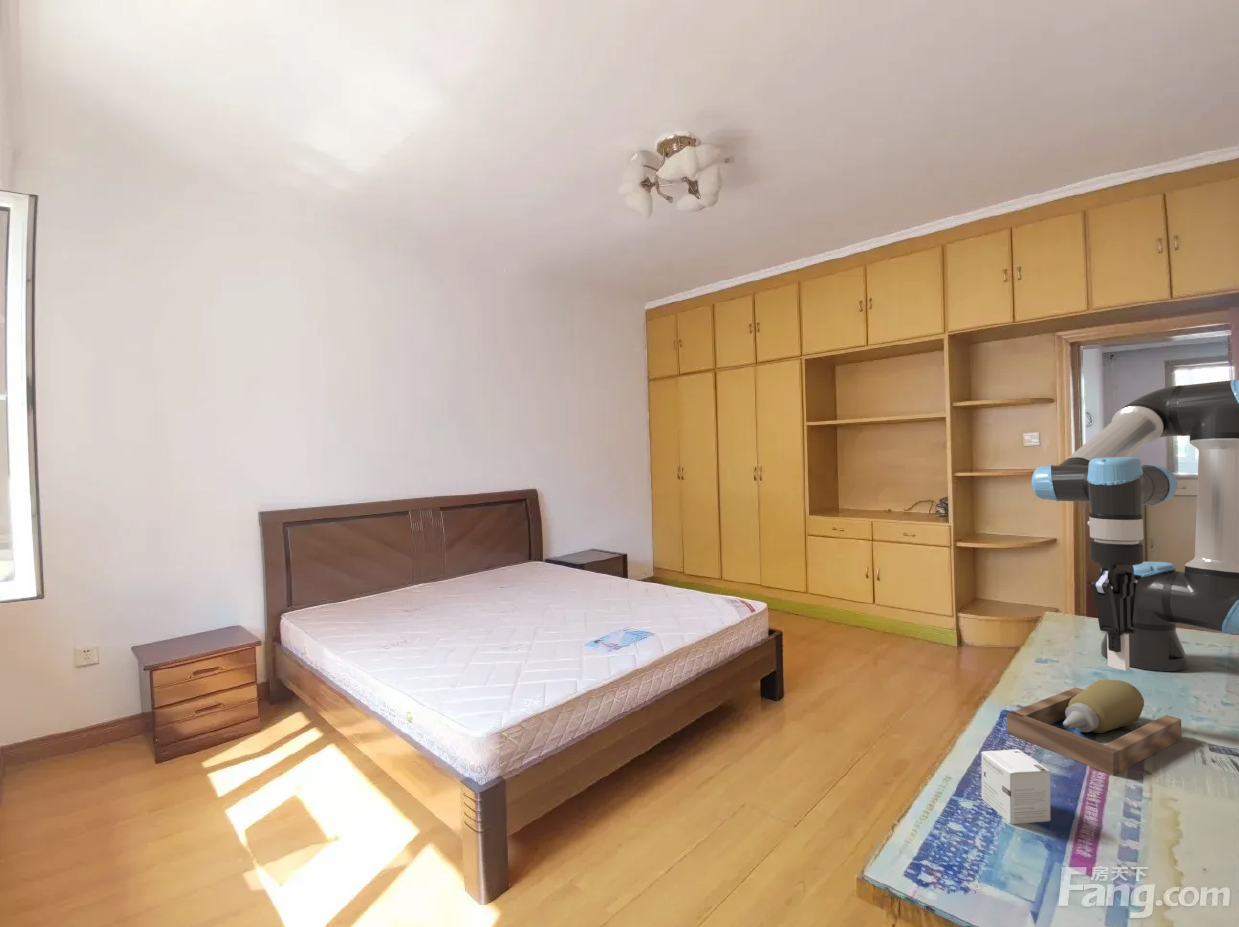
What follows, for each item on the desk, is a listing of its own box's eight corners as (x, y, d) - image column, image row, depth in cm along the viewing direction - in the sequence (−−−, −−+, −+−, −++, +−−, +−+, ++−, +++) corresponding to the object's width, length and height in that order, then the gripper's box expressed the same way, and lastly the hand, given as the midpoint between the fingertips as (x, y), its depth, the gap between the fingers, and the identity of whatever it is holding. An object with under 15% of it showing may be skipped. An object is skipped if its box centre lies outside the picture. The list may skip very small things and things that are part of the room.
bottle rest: (1075, 704, 115) (1075, 687, 115) (1181, 738, 101) (1181, 718, 101) (1007, 732, 105) (1006, 713, 105) (1113, 775, 90) (1113, 753, 90)
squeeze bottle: (1162, 701, 103) (1102, 732, 96) (1135, 727, 108) (1075, 758, 101) (1116, 665, 109) (1057, 691, 102) (1092, 690, 114) (1033, 717, 107)
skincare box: (980, 799, 86) (979, 750, 86) (1019, 796, 86) (1018, 747, 86) (1011, 825, 80) (1010, 772, 80) (1052, 822, 80) (1051, 769, 80)
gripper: (1109, 535, 113) (1112, 655, 113) (1073, 541, 107) (1076, 668, 107) (1158, 539, 106) (1161, 667, 106) (1122, 546, 100) (1125, 681, 101)
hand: (1118, 667), depth 107 cm, fingers closed
